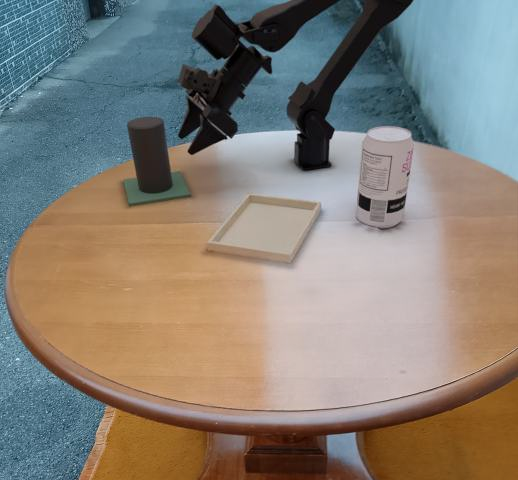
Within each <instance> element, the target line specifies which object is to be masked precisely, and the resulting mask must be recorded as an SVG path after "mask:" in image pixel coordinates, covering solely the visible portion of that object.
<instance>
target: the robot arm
mask: <svg viewBox="0 0 518 480" xmlns="http://www.w3.org/2000/svg"><path fill="white" fill-rule="evenodd" d="M340 1H341V0H288V1H286V2H283V3H279V4H275V5H272V6H269V7H267V8H265V9H263V10H262V9H261V10H260V11H258V12H256V13H255V14H254V15H252V17H251V18H250V19H249V20H246V21H241V22H237V23H236V22H234V21H233V20H232V19H231V18H230V17H229V16H228V15H227V13H226V12H225V10H224V9H223V7H221V6H220V5H219V4H217V3H215V4H214V5H213V6H212V7H211V9H209V10H208V11H207V12H206V13H205V14H204V15H203V16H202V17H200V18H199V19H198V21H197V22H196V24H195V26H194V28H193V30H192V32H191V38H192V39H193V40H194V41H195V42H196V43H197V44H198V45H200V46H201V48H202V49H204V50H205V51H206V52H207V53H208V54H209V55H210V56H211V57H212V58H213V59H214V60H216V61H219V60H221V59H223V60H226V61H225V62H224V63H223V65H222V66H221V68H220V69H218V68H216V69H215V68H214V69H213V70H212V71H211V72H210V73H208V71H207V70H206V69H201V68H200V67H197V68H196V67H193V66H190V65H187V64H184V63H182V64H181V69H180V72H179V76H178V78H177V83H179V84H180V87H181V88H183V89H185V91H184V92H185V93H186V95H185V96H184V97H185V101H186V108H187V109H186V112H185V115H184V117H183V120H182V123H181V126H180V128H179V131H178V133H177V138H179V139H180V140H184V139H185V138H187V137H188V136H190V135H191V134H192V133H194V132H196V130H197V129H198V128H199V129H198V130H197V132H196V133H195V136H194V138H193V139H192V141H191V143H190V144H189V147H188V149H187V153H188V155H190V156H194V155H196V154H198V153H199V152H201V151H203V150H205V149H207V148H209V147H211V146H214V145H216V144H217V143H220V142H222V141H224V140H225V141H227V140H229V138H230V140H231V139H233V138H234V137H235V135H236V134H237V133H238V131H239V128H238V126H239V125H238V122H237V121H236V120H235V119H234V118H233V117H232V115H233V113H232V112H231V109H232V108H233V107H234V105H235V104H236V102H237V101H238V100H239V99H240V100H244V98H245V97H246V96H247V95H246V94H245V93H244V92H245V91H246V90H247V88H248V87H249V85H250V84H251V83H252V82H253V80H254V79H255V77H257V75H258V74H259V72H260V71H261V69H262V70H263V71H264V72H265V73H267V74H268V75H272V74H273V66H272V65H273V64H272V60H273V58H272V57H271V56H270V55H263V54H262V53H261V52H260V51H259V50H258V49H257V48H256V47H255V46H258V47H259V48H261V49H262V50H264V51H265V52H268V53H277V52H279V51H281V50H282V49H283V48H284V47H285V46H286V45H287V44H289V43H290V41H292V40H293V39H294V38H295V36H297V34H298V32H299V31H300V29H302V27H303V26H304V25H305V24H306V23H308V22H309V21H311V20H312V19H314V18H315V17H317V16H319V15H320V14H321V13H323V12H325V11H326V10H328V9H329V8H331V7H333V6H334V5H335V4H337V3H338V2H340ZM413 2H414V0H364V5H363V8H362V10H361V11H362V12H361V13H360V15H359V16H358V18H357V19H356V21H355V22H354V23H353V25H352V26H351V27H350V29H349V30H348V32H347V33H346V35H345V36H344V37H343V39H342V41H341V42H340V43H339V45H338V46H337V48H336V49H334V52H333V53H332V55H331V56H330V57H329V59H328V60H327V62H326V63H325V64H324V66H323V67H322V69H321V70H320V71H319V73H318V74H317V76H316V77H315V78H314V79H313V80H312V81H310V82H308V84H307V83H305V82H304V81H300V82H299V83H298V84H297V87H296V88H295V90H294V92H293V93H292V94H291V95H290V96H288V97H287V99H288V100H289V101H288V103H287V105H286V116H287V118H288V120H289V121H290V123H292V124H293V125H294V128H295V130H296V131H298V132H299V133H296V141H294V149H293V150H294V157H293V161H294V162H295V163H296V164H297V165H298V167H299V168H300V169H301V170H302V171H309V170H318V169H322V168H329V167H332V165H333V163H332V162H331V161H330V143H331V140H332V139H333V136H334V133H335V130H336V129H335V127H334V126H332V124H331V123H330V122H329V121H327V120H326V118H327V117H328V114H329V113H330V111H331V106H332V103H333V99H334V97H335V94H336V92H337V91H338V89H339V88H340V87H341V86H342V84H343V83H344V81H345V80H346V79H347V77H348V76H349V75H350V73H351V72H352V71H353V69H354V68H355V66H356V65H357V63H358V62H359V61H360V59H361V58H362V56H363V55H364V54H365V53H366V51H367V50H368V49H369V47H370V46H371V45H372V43H373V41H374V40H375V39H376V37H377V36H378V35H379V33H380V32H381V31H382V29H384V28H385V27H386V26H388V25H389V24H391V23H392V22H394V21H396V20H397V19H398V18H400V16H401V15H402V14H403V13H404V12H405V11H406V10H407V9H408V8H409V7H410V6H411V5H412V4H413ZM241 38H242V40H243V41H246V42H247V43H249V44H250V46H246V45H245V44H244V43H243V42H242V41H241V40H240V39H241ZM254 45H255V46H254Z"/></svg>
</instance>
